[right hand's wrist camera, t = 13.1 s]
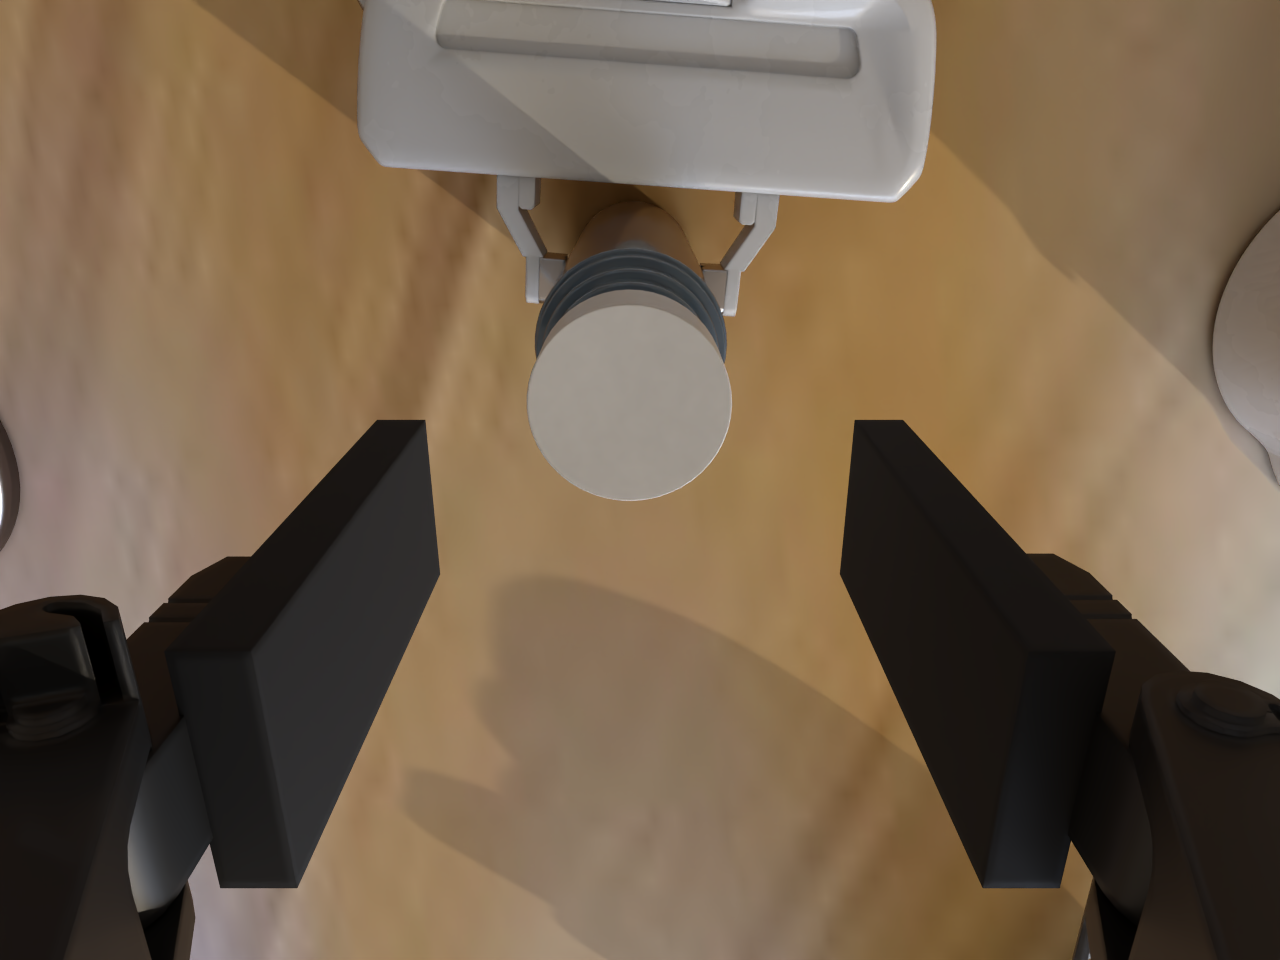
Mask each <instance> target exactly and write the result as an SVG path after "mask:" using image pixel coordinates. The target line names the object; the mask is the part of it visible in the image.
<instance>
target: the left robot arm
mask: <svg viewBox="0 0 1280 960" xmlns="http://www.w3.org/2000/svg"><path fill="white" fill-rule="evenodd" d="M358 2H359V4H360V6H361V8H362V9H363V19H362V27H361V36H360V49H359V62H358V84H357V126H358V133H359V137H360V139H361V141H362V142H363V144H364V145H365V146H366V148H367V149H368V151H369V152H370V153H371V154H372V156H373V157H374V158H375V159H376V161H377V162H378V163H379V164H380V165H382V166H385V167H395V168H409V169H423V170H437V171H451V172H465V173H479V174H493V175H497V209H498V211H499V213H500V215H501V217H502V218H503V220H504V222H505V224H506V226H507V228H508V230H509V231H510V233H511V235H512V237H513V239H514V241H515V243H516V245H517V246H518V248H519V250H520V252H521V254H522V256H525V257H526V294H525V296H526V302H529V303H544V301H545V299H546V297H547V295H548V293H549V292H550V290H551V288H552V286H553V284H554V283H555V281H556V279H557V277H558V275H559V273H560V272H561V270H562V268H563V266H564V264H565V263H566V261H567V259H568V254H562V253H551V252H547V249H546V247H545V245H544V243H543V241H542V239H541V237H540V235H539V233H538V231H537V229H536V227H535V225H534V223H533V221H532V219H531V217H530V215H529V213H528V211H527V209H528V210H532V209H533V208H534V207H536V206H537V205H538V204H539V203H540V191H541V178H550V179H564V180H578V181H592V182H606V183H620V184H634V185H649V186H663V187H677V188H691V189H705V190H719V191H733V192H736V193H735V204H734V218H735V219H736V220H737V221H738V222H740V223H741V224H742V225H745V226H744V228H743V229H742V231H741V232H740V234H739V235H738V237H737V238H736V240H735V241H734V243H733V244H732V246H731V247H730V248H729V250H728V251H727V253H726V254H725V256H724V257H723V259H722V260H721V262H720V264H709V263H700V267H701V269H702V271H703V273H704V276H705V278H706V280H707V282H708V284H709V286H710V288H711V290H712V292H713V294H714V296H715V298H716V300H717V303H718V305H719V307H720V309H721V312H722V315H723V316H735V314H736V310H737V302H738V293H739V284H740V275H741V271H745V270H746V268H747V267H748V265H749V264H750V263H751V261H752V260H753V258H754V257H755V256H756V254H757V253H758V251H759V250H760V249H761V247H762V246H763V244H764V243H765V242H766V240H767V239H768V237H769V236H770V235H771V233H772V232H773V230H774V229H775V227H776V219H777V211H778V204H779V196H780V195H790V196H804V197H818V198H832V199H846V200H860V201H875V202H890V203H891V202H895V201H897V200H899V199H900V198H901V197H902V196H903V195H904V194H905V193H906V192H907V191H908V190H909V189H910V188H911V187H912V186H913V185H914V183H915V182H916V181H917V180H918V179H919V177H920V175H921V173H922V170H923V167H924V162H925V157H926V152H927V146H928V139H929V132H930V124H931V116H932V106H933V96H934V82H935V65H936V21H935V14H934V8H933V5H932V1H931V0H358ZM1212 352H1213V366H1214V372H1215V377H1216V381H1217V384H1218V387H1219V390H1220V393H1221V395H1222V397H1223V399H1224V401H1225V403H1226V405H1227V407H1228V408H1229V410H1230V412H1231V413H1232V414H1233V416H1234V417H1235V418H1236V420H1237V421H1238V422H1239V423H1240V424H1241V425H1242V426H1243V427H1244V428H1245V429H1246V430H1247V431H1249V432H1250V433H1251V434H1252V435H1253V436H1254V437H1255V438H1256V439H1257V440H1258V441H1259V442H1260V443H1261V444H1262V445H1263V446H1264V447H1265V449H1266V450H1267V452H1268V455H1269V458H1270V462H1271V465H1272V468H1273V471H1274V474H1275V477H1276V479H1277V482H1278V484H1279V485H1280V210H1279V211H1278V212H1277V213H1276V214H1275V215H1274V216H1273V217H1272V218H1271V219H1270V220H1269V221H1268V222H1267V223H1266V225H1265V226H1264V227H1263V228H1262V229H1261V230H1260V232H1259V233H1258V234H1257V235H1256V236H1255V238H1254V239H1253V240H1252V242H1251V243H1250V244H1249V246H1248V247H1247V249H1246V250H1245V252H1244V253H1243V255H1242V256H1241V258H1240V260H1239V261H1238V263H1237V265H1236V267H1235V268H1234V270H1233V272H1232V274H1231V276H1230V278H1229V280H1228V283H1227V285H1226V287H1225V290H1224V292H1223V295H1222V298H1221V301H1220V304H1219V308H1218V311H1217V315H1216V320H1215V325H1214V332H1213V345H1212Z"/></svg>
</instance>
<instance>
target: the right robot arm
mask: <svg viewBox="0 0 1280 960" xmlns="http://www.w3.org/2000/svg"><path fill="white" fill-rule="evenodd" d="M19 502H20V482H19V472H18V467H17V462H16V458H15V455H14V452H13V448H12V445H11V443H10V440H9V438H8V436H7V433H6V431H5V429H4V427H3V425H2V423H1V421H0V551H1V550H2V548H3V547H4V546H5V544H6V542H7V540H8V539H9V537H10V535H11V533H12V530H13V528H14V525H15V522H16V518H17V515H18V509H19ZM439 575H440V568H439V558H438V548H437V537H436V527H435V516H434V506H433V496H432V485H431V475H430V464H429V454H428V444H427V433H426V423H425V420H377V421H376V422H375V423H374V424H373V425H372V426H371V427H370V428H369V429H368V430H367V431H366V433H365V434H364V435H363V436H362V437H361V438H360V439H359V440H358V441H357V442H356V443H355V444H354V446H353V447H352V448H351V449H350V450H349V451H348V452H347V453H346V454H345V455H344V456H343V458H342V459H341V460H340V461H339V462H338V463H337V464H336V465H335V466H334V467H333V468H332V469H331V471H330V472H329V473H328V474H327V475H326V476H325V477H324V478H323V479H322V480H321V481H320V482H319V484H318V485H317V486H316V487H315V488H314V489H313V490H312V491H311V492H310V493H309V494H308V496H307V497H306V498H305V499H304V500H303V501H302V502H301V503H300V504H299V505H298V506H297V507H296V509H295V510H294V511H293V512H292V513H291V514H290V515H289V516H288V517H287V518H286V519H285V521H284V522H283V523H282V524H281V525H280V526H279V527H278V528H277V529H276V530H275V531H274V532H273V534H272V535H271V536H270V537H269V538H268V539H267V540H266V541H265V542H264V543H263V544H262V545H261V547H260V548H259V549H258V550H257V551H256V552H255V553H254V554H253V555H252V556H251V557H226V558H224V559H222V560H220V561H218V562H216V563H215V564H213V565H211V566H209V567H207V568H205V569H203V570H202V571H200V572H198V573H196V574H194V575H192V576H191V577H190V578H189V579H188V580H187V581H186V582H185V583H184V584H183V585H182V586H181V587H180V588H179V589H178V590H177V591H176V592H175V593H174V594H173V595H171V596H170V597H169V598H168V603H163V604H162V605H161V606H160V607H159V608H158V609H157V610H156V611H155V612H154V613H153V614H152V615H151V616H150V617H149V622H144V623H143V624H142V625H141V626H140V627H139V628H138V629H137V630H136V631H135V632H134V633H133V634H132V635H131V636H130V637H129V638H128V639H127V640H126V637H125V633H124V629H123V625H122V621H121V617H120V613H119V609H118V606H116V605H114V604H113V603H111V602H110V601H108V600H107V599H105V598H100V597H93V596H86V595H70V596H55V597H47V598H43V599H38V600H33V601H29V602H24V603H19V604H15V605H12V606H10V607H7V608H4V609H1V610H0V960H189V959H190V952H191V945H192V938H193V931H194V923H195V912H194V905H193V899H192V895H191V891H190V887H189V883H188V878H189V877H190V875H191V873H192V872H193V870H194V868H195V867H196V865H197V864H198V862H199V860H200V859H201V857H202V855H203V854H204V852H205V850H206V849H207V847H208V845H209V844H210V847H211V851H212V855H213V859H214V863H215V868H216V872H217V876H218V880H219V884H220V888H298V885H299V883H300V881H301V879H302V877H303V874H304V872H305V870H306V868H307V866H308V863H309V861H310V859H311V857H312V855H313V852H314V850H315V848H316V846H317V844H318V841H319V839H320V837H321V835H322V833H323V830H324V828H325V826H326V824H327V822H328V819H329V817H330V815H331V813H332V811H333V808H334V806H335V804H336V802H337V800H338V797H339V795H340V793H341V791H342V789H343V786H344V784H345V782H346V780H347V778H348V775H349V773H350V771H351V769H352V767H353V764H354V762H355V760H356V758H357V756H358V753H359V751H360V749H361V747H362V745H363V742H364V740H365V738H366V736H367V734H368V731H369V729H370V727H371V725H372V723H373V720H374V718H375V716H376V714H377V712H378V709H379V707H380V705H381V703H382V701H383V698H384V696H385V694H386V692H387V690H388V687H389V685H390V683H391V681H392V679H393V676H394V674H395V672H396V670H397V668H398V665H399V663H400V661H401V659H402V657H403V654H404V652H405V650H406V648H407V646H408V643H409V641H410V639H411V637H412V635H413V632H414V630H415V628H416V626H417V624H418V621H419V619H420V617H421V615H422V613H423V610H424V608H425V606H426V604H427V602H428V599H429V597H430V595H431V593H432V591H433V588H434V586H435V584H436V582H437V580H438V577H439ZM840 575H841V577H842V580H843V582H844V584H845V586H846V588H847V591H848V593H849V595H850V597H851V599H852V602H853V604H854V606H855V608H856V610H857V613H858V615H859V617H860V619H861V621H862V624H863V626H864V628H865V630H866V632H867V635H868V637H869V639H870V641H871V643H872V646H873V648H874V650H875V652H876V654H877V657H878V659H879V661H880V663H881V665H882V668H883V670H884V672H885V674H886V676H887V679H888V681H889V683H890V685H891V687H892V690H893V692H894V694H895V696H896V698H897V701H898V703H899V705H900V707H901V709H902V712H903V714H904V716H905V718H906V720H907V723H908V725H909V727H910V729H911V731H912V734H913V736H914V738H915V740H916V742H917V745H918V747H919V749H920V751H921V753H922V756H923V758H924V760H925V762H926V764H927V767H928V769H929V771H930V773H931V775H932V778H933V780H934V782H935V784H936V786H937V789H938V791H939V793H940V795H941V797H942V800H943V802H944V804H945V806H946V808H947V811H948V813H949V815H950V817H951V819H952V822H953V824H954V826H955V828H956V830H957V833H958V835H959V837H960V839H961V841H962V844H963V846H964V848H965V850H966V852H967V855H968V857H969V859H970V861H971V863H972V866H973V868H974V870H975V872H976V874H977V877H978V879H979V881H980V883H981V885H982V888H1060V884H1061V880H1062V876H1063V872H1064V868H1065V863H1066V859H1067V855H1068V851H1069V847H1070V842H1071V841H1072V842H1073V844H1074V846H1075V847H1076V849H1077V851H1078V852H1079V854H1080V856H1081V857H1082V859H1083V860H1084V862H1085V864H1086V865H1087V867H1088V869H1089V870H1090V872H1091V874H1092V875H1093V879H1092V883H1091V887H1090V891H1089V895H1088V899H1087V903H1086V907H1085V911H1084V915H1083V919H1082V923H1081V927H1080V930H1079V934H1078V938H1077V942H1076V946H1075V950H1074V954H1073V959H1072V960H1088V959H1090V958H1091V960H1280V699H1278V698H1277V697H1275V696H1274V695H1272V694H1270V693H1267V692H1265V691H1262V690H1260V689H1258V688H1255V687H1253V686H1251V685H1248V684H1246V683H1244V682H1241V681H1238V680H1234V679H1230V678H1226V677H1222V676H1218V675H1214V674H1210V673H1203V672H1190V671H1189V670H1188V669H1187V668H1186V667H1185V666H1184V665H1183V664H1182V663H1181V662H1180V661H1179V660H1178V659H1177V658H1176V657H1175V656H1174V655H1173V654H1172V653H1171V652H1170V651H1169V650H1168V649H1167V648H1166V647H1165V646H1164V645H1163V644H1162V643H1161V642H1160V641H1159V640H1158V639H1157V638H1155V637H1154V636H1153V635H1152V634H1151V633H1150V632H1149V631H1148V630H1147V629H1146V628H1145V627H1144V626H1143V625H1142V624H1141V623H1140V622H1139V621H1138V620H1137V619H1132V614H1131V613H1130V612H1129V611H1128V610H1127V609H1126V608H1125V607H1124V606H1123V605H1122V604H1121V603H1120V602H1119V601H1118V600H1113V599H1112V595H1111V594H1110V593H1109V592H1108V591H1107V590H1106V589H1105V588H1104V587H1103V586H1102V585H1101V584H1100V583H1099V582H1098V581H1097V580H1096V579H1095V578H1094V577H1093V576H1092V575H1091V574H1090V573H1089V572H1087V571H1085V570H1083V569H1081V568H1079V567H1077V566H1075V565H1074V564H1072V563H1070V562H1068V561H1066V560H1064V559H1062V558H1060V557H1059V556H1057V555H1055V554H1026V553H1025V552H1024V551H1023V550H1022V549H1021V548H1020V547H1019V545H1018V544H1017V543H1016V542H1015V541H1014V540H1013V539H1012V538H1011V537H1010V536H1009V535H1008V534H1007V532H1006V531H1005V530H1004V529H1003V528H1002V527H1001V526H1000V525H999V524H998V523H997V522H996V521H995V519H994V518H993V517H992V516H991V515H990V514H989V513H988V512H987V511H986V510H985V509H984V507H983V506H982V505H981V504H980V503H979V502H978V501H977V500H976V499H975V498H974V497H973V496H972V494H971V493H970V492H969V491H968V490H967V489H966V488H965V487H964V486H963V485H962V484H961V482H960V481H959V480H958V479H957V478H956V477H955V476H954V475H953V474H952V473H951V472H950V471H949V469H948V468H947V467H946V466H945V465H944V464H943V463H942V462H941V461H940V460H939V459H938V458H937V456H936V455H935V454H934V453H933V452H932V451H931V450H930V449H929V448H928V447H927V446H926V444H925V443H924V442H923V441H922V440H921V439H920V438H919V437H918V436H917V435H916V434H915V433H914V431H913V430H912V429H911V428H910V427H909V426H908V425H907V424H906V423H905V422H904V421H903V420H855V423H854V433H853V444H852V454H851V464H850V475H849V485H848V496H847V506H846V516H845V527H844V537H843V548H842V558H841V568H840Z"/></svg>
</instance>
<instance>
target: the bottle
mask: <svg viewBox="0 0 1280 960" xmlns="http://www.w3.org/2000/svg"><path fill="white" fill-rule="evenodd" d="M627 289H628V290H643V291H648V292H654V293H657V294H660V295H663V296H666V297H668V298H670V299H672V300H674V301H676V302H678V303H680V304H681V305H683V306H684V307H686V308H687V309H689V310H690V311H691V312H692V313H693V314H694V315H695V316H697V317H698V318H699V320H700V321H701V322H702V323H703V324H704V325H705V326H706V328H707V329H708V331H709V332H710V334H711V335H712V337H713V339H714V341H715V343H716V345H717V347H718V350H719V352H720V355H721V357H722V360H723V363H725V358H726V349H727V337H726V328H725V322H724V318H723V315H722V312H721V309H720V307H719V305H718V303H717V300H716V298H715V296H714V294H713V292H712V290H711V288H710V286H709V284H708V282H707V280H706V278H705V276H704V273H703V271H702V269H701V267H700V265H699V263H698V261H697V259H696V257H695V255H694V253H693V251H692V249H691V246H690V244H689V242H688V240H687V238H686V236H685V234H684V232H683V230H682V228H681V227H680V225H679V224H678V223H677V222H676V220H675V219H674V218H673V217H672V216H671V215H669V214H668V213H667V212H666V211H664V210H663V209H661V208H659V207H657V206H655V205H652V204H649V203H646V202H640V201H626V202H620V203H616V204H614V205H611V206H609V207H607V208H605V209H603V210H602V211H600V212H599V213H598V214H596V215H595V216H594V217H593V218H592V219H591V220H590V221H589V223H588V224H587V225H586V227H585V228H584V230H583V232H582V233H581V235H580V237H579V239H578V241H577V243H576V244H575V246H574V248H573V250H572V252H571V253H570V255H569V257H568V259H567V261H566V263H565V264H564V266H563V268H562V270H561V272H560V273H559V275H558V277H557V279H556V281H555V283H554V284H553V286H552V288H551V290H550V292H549V293H548V295H547V297H546V299H545V301H544V303H543V306H542V308H541V310H540V313H539V317H538V321H537V325H536V332H535V352H536V360H537V358H538V355H539V353H540V351H541V349H542V346H543V344H544V342H545V340H546V338H547V336H548V335H549V333H550V331H551V330H552V328H553V327H554V326H555V325H556V323H557V322H558V321H559V320H560V319H561V318H562V317H563V316H564V315H565V314H566V313H567V312H568V311H569V310H571V309H572V308H574V307H575V306H576V305H578V304H579V303H581V302H583V301H585V300H587V299H589V298H591V297H594V296H596V295H599V294H602V293H606V292H611V291H616V290H627Z"/></svg>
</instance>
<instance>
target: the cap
mask: <svg viewBox="0 0 1280 960" xmlns="http://www.w3.org/2000/svg"><path fill="white" fill-rule="evenodd" d="M731 410H732V394H731V387H730V381H729V377H728V374H727V371H726V368H725V365H724V363H723V360H722V357H721V355H720V352H719V350H718V347H717V345H716V343H715V341H714V339H713V337H712V335H711V334H710V332H709V331H708V329H707V328H706V326H705V325H704V324H703V323H702V322H701V321H700V320H699V318H698V317H697V316H695V315H694V314H693V313H692V312H691V311H690V310H689V309H687V308H686V307H684V306H683V305H681V304H680V303H678V302H676V301H674V300H672V299H670V298H668V297H666V296H663V295H660V294H657V293H654V292H648V291H643V290H628V289H627V290H616V291H611V292H606V293H602V294H599V295H596V296H594V297H591V298H589V299H587V300H585V301H583V302H581V303H579V304H578V305H576V306H575V307H574V308H572V309H571V310H569V311H568V312H567V313H566V314H565V315H564V316H563V317H562V318H561V319H560V320H559V321H558V322H557V323H556V325H555V326H554V327H553V328H552V330H551V331H550V333H549V335H548V336H547V338H546V340H545V342H544V344H543V346H542V349H541V351H540V353H539V355H538V358H537V360H536V362H535V364H534V367H533V369H532V372H531V376H530V379H529V383H528V391H527V413H528V420H529V424H530V428H531V431H532V434H533V437H534V439H535V441H536V444H537V446H538V448H539V449H540V451H541V453H542V454H543V456H544V457H545V459H546V460H547V461H548V462H549V464H550V465H551V466H552V467H553V468H554V469H555V470H556V471H557V472H558V473H559V474H560V475H561V476H562V477H564V478H565V479H566V480H568V481H569V482H570V483H572V484H573V485H575V486H577V487H579V488H580V489H582V490H584V491H587V492H589V493H591V494H594V495H597V496H600V497H604V498H608V499H614V500H626V501H635V500H646V499H651V498H656V497H659V496H662V495H665V494H668V493H671V492H673V491H675V490H677V489H679V488H681V487H683V486H684V485H686V484H687V483H689V482H690V481H692V480H693V479H694V478H695V477H697V476H698V475H699V474H700V473H701V472H702V471H703V470H704V469H705V468H706V467H707V466H708V465H709V464H710V463H711V461H712V460H713V458H714V457H715V456H716V454H717V453H718V451H719V449H720V447H721V445H722V444H723V442H724V439H725V436H726V434H727V431H728V427H729V423H730V419H731Z"/></svg>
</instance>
